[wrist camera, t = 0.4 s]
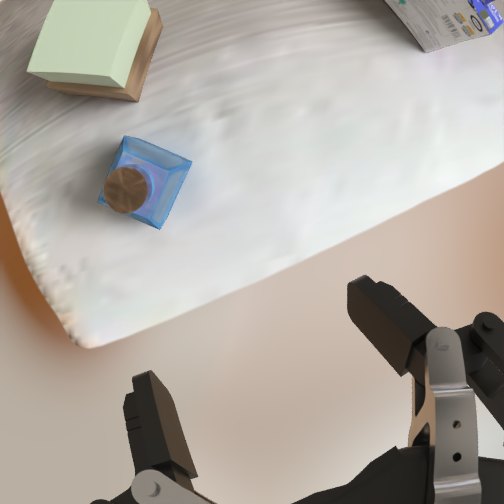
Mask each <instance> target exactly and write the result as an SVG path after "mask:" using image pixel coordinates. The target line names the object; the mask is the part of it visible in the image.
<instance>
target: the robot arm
mask: <svg viewBox="0 0 504 504" xmlns="http://www.w3.org/2000/svg"><path fill="white" fill-rule="evenodd" d="M347 310H348V314H349V316H350V318H351V320H352V322H353V323H354V324H355V325H356V326H357V327H358V328H359V330H360V331H361V332H362V333H363V334H364V335H365V336H366V338H367V339H368V340H369V341H370V342H371V343H372V344H373V345H374V347H375V348H376V349H377V350H378V351H379V352H380V353H381V354H382V356H383V357H384V358H385V359H386V360H387V361H388V363H389V364H390V365H391V366H392V367H393V368H394V370H395V371H396V372H397V373H398V374H399V375H400V376H403V375H404V374H406V373H407V372H410V373H411V374H412V422H411V426H410V430H409V437H408V447H405V448H401V449H397V447H396V446H395V447H393V448H392V449H390V450H389V451H387V452H386V453H384V454H383V455H382V456H380V457H378V458H376V459H375V460H373V461H372V462H370V463H369V464H368V465H367V466H366V467H365V468H364V469H363V471H361V473H359V474H358V475H357V476H356V477H355V478H354V479H353V480H352V481H351V482H349V483H348V484H346V485H343V486H340V487H336V488H332V489H328V490H325V491H321V492H317V493H314V494H312V495H310V496H308V497H306V498H303V499H301V500H299V501H297V502H295V503H292V504H504V460H501V459H493V458H486V457H479V456H478V431H477V415H476V403H475V394H476V395H477V396H478V397H479V399H480V400H481V401H482V403H483V404H484V405H485V406H486V408H487V409H488V410H489V412H490V413H491V414H492V415H493V417H494V418H495V419H496V421H497V422H498V423H499V424H500V426H501V427H502V428H503V430H504V322H503V321H502V320H501V319H500V318H498V316H496V315H495V314H493V313H490V312H482V313H479V314H478V315H477V316H476V317H475V319H474V321H473V323H472V324H470V325H467V326H465V327H462V328H459V329H456V330H452V329H450V328H447V327H437V326H435V325H434V324H433V323H432V322H431V321H430V320H429V319H428V318H427V317H426V316H424V315H423V314H422V313H421V312H420V311H419V310H418V309H417V308H416V307H415V306H414V305H413V304H412V303H410V302H408V300H407V299H406V298H405V297H404V296H402V295H401V294H400V293H399V292H398V291H397V290H396V289H395V288H394V287H393V286H391V285H389V284H386V283H384V282H382V281H380V282H378V283H375V282H374V281H373V280H372V279H371V278H370V277H368V276H367V275H363V276H361V277H359V278H357V279H355V280H353V281H351V282H349V283H348V286H347ZM491 361H492V362H493V363H492V362H491ZM499 370H500V371H499ZM132 382H133V389H134V392H132V393H129V394H126V397H125V401H124V406H123V410H124V416H125V421H126V428H127V431H128V439H129V443H130V448H131V453H132V458H133V462H134V467H135V478H134V479H133V482H132V485H131V486H130V488H129V489H128V490H126V491H125V492H123V493H122V494H120V495H119V496H117V497H115V498H114V499H113V500H111V501H107V500H102V499H99V500H95V501H93V502H92V503H90V504H217V503H215V502H213V501H212V500H210V499H208V498H207V497H205V496H203V495H202V494H200V493H198V492H197V491H195V490H194V488H193V485H192V483H191V480H190V479H193V478H196V477H198V475H197V472H196V469H195V466H194V464H193V461H192V458H191V455H190V452H189V449H188V446H187V443H186V440H185V437H184V434H183V431H182V428H181V424H180V421H179V418H178V414H177V411H176V408H175V404H174V401H173V399H172V397H171V395H170V393H169V391H168V390H167V388H166V387H165V386H164V385H163V384H162V382H161V381H160V380H159V379H158V377H157V376H156V375H155V374H154V373H153V372H152V371H151V370H150V371H147V372H144V373H141V374H139V375H136V376H133V378H132ZM467 384H468V385H469V387H468V386H467ZM474 393H475V394H474ZM503 446H504V443H503Z"/></svg>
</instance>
